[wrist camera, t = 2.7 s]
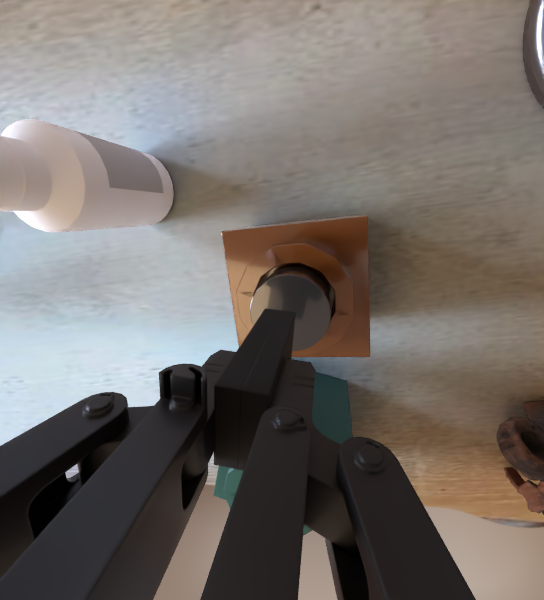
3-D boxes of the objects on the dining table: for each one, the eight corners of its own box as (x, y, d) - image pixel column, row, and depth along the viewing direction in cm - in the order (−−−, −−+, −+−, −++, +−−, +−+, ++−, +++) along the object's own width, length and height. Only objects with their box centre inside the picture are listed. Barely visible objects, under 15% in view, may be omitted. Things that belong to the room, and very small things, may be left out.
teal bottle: (347, 380, 31) (356, 478, 20) (325, 444, 34) (323, 561, 22) (257, 355, 32) (219, 433, 21) (244, 419, 35) (203, 518, 24)
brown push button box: (356, 214, 26) (372, 216, 16) (359, 318, 29) (374, 371, 19) (250, 226, 28) (210, 233, 19) (262, 322, 31) (232, 370, 21)
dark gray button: (328, 263, 18) (328, 271, 16) (332, 333, 19) (332, 351, 17) (255, 269, 19) (244, 277, 17) (263, 335, 20) (254, 351, 18)
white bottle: (176, 156, 27) (-76, 66, 10) (174, 229, 29) (-36, 255, 12) (111, 148, 28) (-216, 55, 11) (114, 220, 30) (-156, 232, 13)
